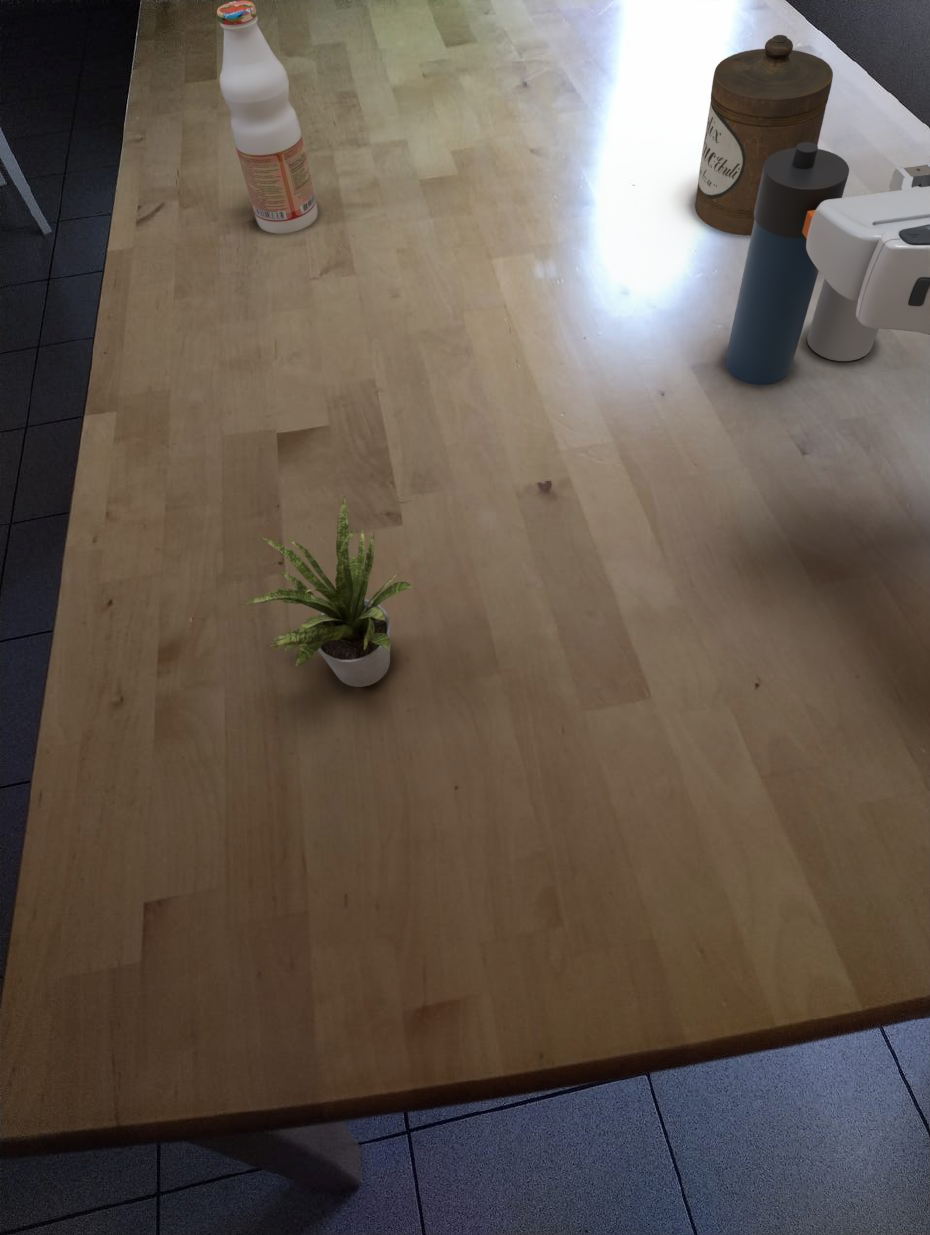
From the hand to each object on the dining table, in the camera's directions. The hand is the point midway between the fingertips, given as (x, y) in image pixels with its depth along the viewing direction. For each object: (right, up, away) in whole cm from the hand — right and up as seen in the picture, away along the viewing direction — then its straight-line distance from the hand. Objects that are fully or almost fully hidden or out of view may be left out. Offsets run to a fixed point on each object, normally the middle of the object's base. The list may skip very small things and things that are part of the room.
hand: (909, 175), depth 68 cm
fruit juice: (-62, +25, +63) cm, 92 cm away
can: (+10, -2, +37) cm, 38 cm away
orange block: (-1, +2, +16) cm, 16 cm away
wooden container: (+5, +23, +56) cm, 61 cm away
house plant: (-45, -39, +15) cm, 62 cm away
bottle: (0, -5, +36) cm, 36 cm away
